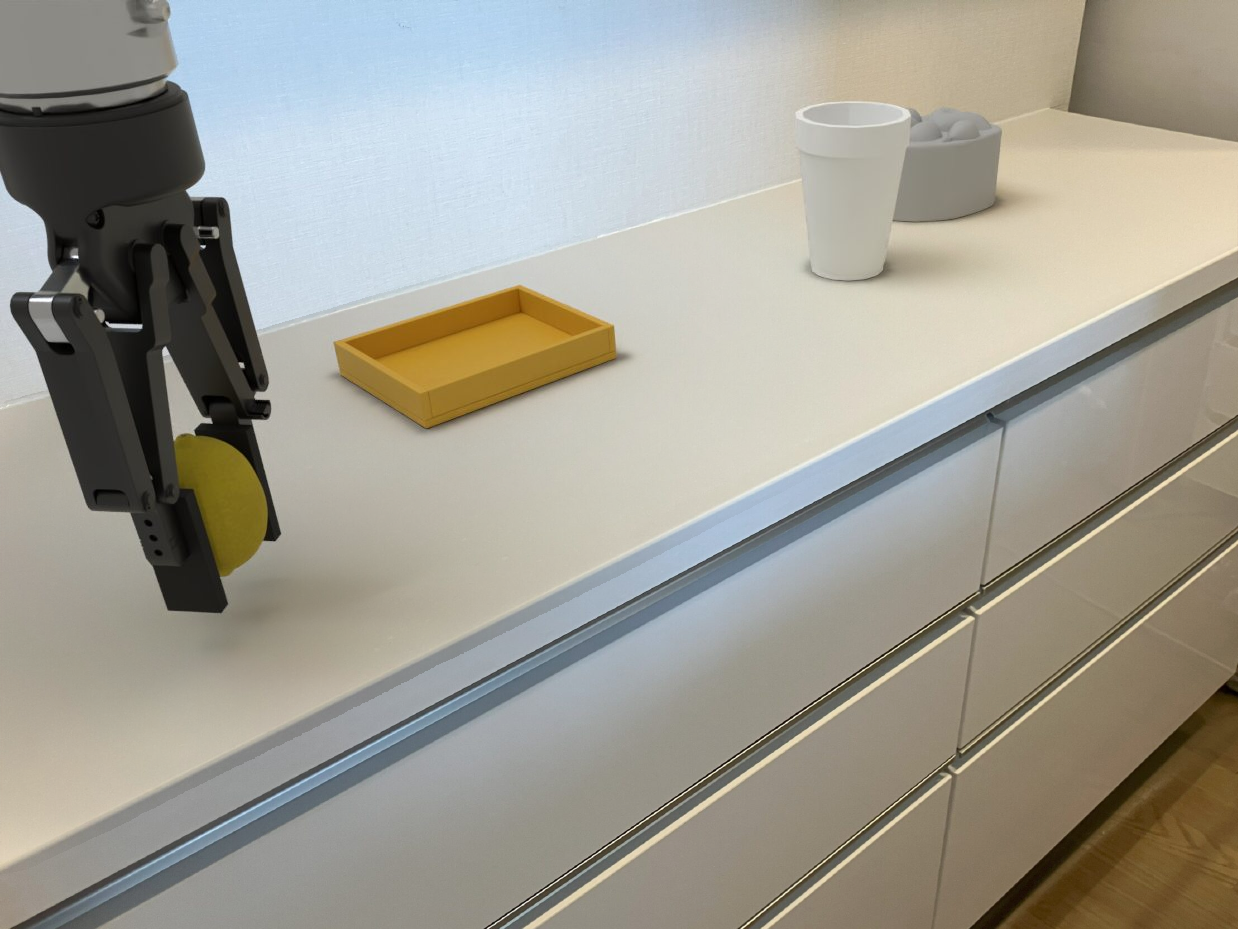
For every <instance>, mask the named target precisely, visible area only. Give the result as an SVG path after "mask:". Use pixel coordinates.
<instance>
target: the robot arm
mask: <svg viewBox="0 0 1238 929" xmlns="http://www.w3.org/2000/svg"><path fill="white" fill-rule="evenodd" d="M171 10H172V9H171V6H170V3H169V2H168V0H0V176H1V179H2V182H3V184H4V187H5V189H6V192H7V193H8V195H9V196H10V197H11V198H12V199H13V200H14V201H16V202H17V203H19V204H21V205H23V206H25V207H27V208H28V209H30V210H32V211H33V212H34V213H35V214H37V215H38V216H39V217H40V218H41V220H42V222H43V224H44V228H45V233H46V247H47V249H46V250H47V251H46V252H47V253H46V255H47V261H48V265H49V268H50V271H51V274H50V275H49V276H48V278H47V279H46V280H45V282H44V283H43V285H42V286H41V288H39V290H38V291H16V292H15V293H13V295H12V296H11V298H10V302H9V310H10V314H11V316H12V319H13V320H14V321H15V323H16V324H17V326H18V327H19V329H20V330H21V332H22V333H23V335H24V336H25V338H26V339H27V341H28V343H29V344H30V345H31V347H32V349H33V350H34V352H35V354H36V357H37V360H38V363H39V365H40V369H41V372H42V375H43V379H44V381H45V385H46V388H47V390H48V394H49V397H50V400H51V403H52V405H53V408H54V412H55V414H56V417H57V421H58V423H59V427H60V430H61V432H62V435H63V436H62V437H63V440H65V444H66V448H67V451H68V453H69V457H70V459H71V462H72V466H73V469H74V472H75V475H76V478H77V480H78V483H79V488H80V490H81V493H82V496H83V498H84V502H85V505H86V506H87V508H88V509H89V510H90V511H92V512H105V513H106V512H107V513H127V514H128V513H129V514H130V517H131V519H132V522H133V525H134V528H135V531H136V534H137V537H138V540H139V543H140V546H141V548H142V552H143V555H144V557H145V559H146V561H147V562H148V563H149V564H150V565H151V566H152V569H153V571H154V575H155V578H156V581H157V584H158V587H159V589H160V593H161V595H162V598H163V601H164V604H165V606H166V610H167V611H168V612H183V613H184V612H185V613H188V612H189V613H207V614H222V613H223V612H224V610H225V609H226V608H227V607H228V606H229V600H228V598H227V594H226V591H225V588H224V584H223V582H222V577H220V574H219V571H218V568H217V565H216V561H215V558H214V555H213V552H212V548H211V545H210V542H209V538H208V535H207V532H206V529H205V525H204V522H203V519H202V516H201V512H200V509H199V506H198V502H197V499H196V496H195V493H194V489H184V488H180V487H179V479H178V472H177V464H176V456H175V448H174V440H175V439H174V434H173V424H172V418H171V417H172V416H171V410H170V403H169V402H170V401H169V395H168V394H169V393H168V387H167V379H166V371H165V364H164V363H165V362H164V356H163V350H164V348H166V350H167V351H168V354H169V356H170V357H171V358H170V359H171V360H172V362H173V363H174V365H175V368H176V369H177V371H178V373H179V375H180V377H181V379H182V381H183V383H184V385H185V387H186V388H187V391H188V392H189V394H190V396H191V398H192V400H193V402H194V404H195V406H196V408H197V410H198V412H199V413H200V415H201V417H202V418H204V419H210V420H211V422H200V424H198V425H197V427H195V428H194V430H193V432H194V436H206V437H211V438H215V439H218V440H221V441H223V442H226V443H228V444H229V445H231V446H233V447H234V448H235V449H237V450H238V451H239V452H240V453H241V454H243V456H244V457H245V458H246V459H247V460H248V462H249V463H250V465H251V466H252V468H253V470H254V471H255V473H256V475H257V477H258V479H259V481H260V484H261V486H262V488H263V491H264V494H265V498H266V502H267V511H268V518H267V529H266V534H265V537H264V540H263V542H274V543H275V542H277V541H278V540H279V538H280V537H281V535H282V531H281V527H280V523H279V519H278V515H277V511H276V508H275V504H274V500H273V497H272V493H271V489H270V485H269V481H268V478H267V473H266V469H265V466H264V463H263V459H262V455H261V454H262V453H261V451H260V447H259V443H258V440H257V435H256V431H255V427H254V424H253V421H267V420H269V419H270V417H271V414H272V402H271V400H270V399H256V397H255V396H256V394H257V393H265V392H266V391H267V390H268V388H269V386H270V378H269V372H268V370H267V366H266V362H265V358H264V355H263V351H262V348H261V344H260V340H259V336H258V332H257V329H256V326H255V322H254V318H253V314H252V311H251V306H250V303H249V300H248V295H247V292H246V288H245V285H244V281H243V277H242V274H241V271H240V267H239V263H238V260H237V256H236V252H235V248H234V242H233V232H232V229H233V228H232V221H231V211H230V209H231V208H230V205H229V203H228V200H227V199H226V197H223V196H190V194H189V193H188V191H187V190H189V189H190V188H192V187H194V186H195V185H196V184H197V183H199V182H200V180H201V179H202V178H203V176H204V175H205V171H206V159H205V157H204V153H203V148H202V145H201V140H200V137H199V133H198V128H197V124H196V121H195V117H194V112H193V109H192V104H191V101H190V96H189V94H188V92H187V91H186V90H184V89H182V88H181V86H180V85H179V84H178V83H176V82H175V81H171V80H168V79H167V78H169V77H170V76H171V75H172V74H174V72H175V71H176V69H177V68H178V66H179V64H180V63H179V59H178V55H177V51H176V47H175V44H174V40H173V36H172V33H171V28H170V24H169V19H170V17H171V15H172V11H171ZM203 246H204V247H203ZM108 324H109V325H139V326H141V325H142V326H141V328H138V327H137V328H134V327H133V328H131V327H111V326H109V325H108ZM240 364H243V367H241V365H240ZM150 475H151V476H150Z"/></svg>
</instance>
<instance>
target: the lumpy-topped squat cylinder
mask: <svg viewBox="0 0 1238 929" xmlns="http://www.w3.org/2000/svg"><path fill="white" fill-rule="evenodd" d="M904 108H905V109H907V110H909V112H910V114H911V126H910V142H909V146H908V147H906V152H905V158H904V163H903V168H902V174H901V179H900V184H899V189H898V195H897V200H896V205H895V210H894V216H893V221H898V222H935V221H947V220H953V219H958V218H962V217H966V216H969V215H972V214H973V215H974V214H975V213H978V212H981V211H983V210H985V209H988V208H991V207H992V206H993V205H994V204H995V202H996V192H997V184H998V173H999V164H1000V163H999V162H1000V154H1001V153H1000V152H1001V144H1002V135H1003V130H1002V127H1001V126H999V125H998V124H994V123H990V122H989V120H987V119H986V118H985V116H983V115H981V114H980V113H976V112H972V111H967V110H963V111H962V110H959V109H957V108H952V107H944V106H943V107H938V108H936V109H934V110H933V111H932V112H931V113H930V114H928V115H927V114H926V115H920V113H919V112H918V111H917V109H914V108H912V107H904Z"/></svg>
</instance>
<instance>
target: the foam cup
mask: <svg viewBox="0 0 1238 929" xmlns="http://www.w3.org/2000/svg"><path fill="white" fill-rule="evenodd" d="M905 108H906V107H901V106H899V105H896V104H891V103H883V102H877V101H861V100H860V101H858V100H855V101H854V100H846V101H845V100H843V101H831V102H822V103H817V104H811V105H807V106H804V107H802V108H800V109H798V110H797V111H795V115H794V116H795V119H794V120H795V122H794V124H795V125H794V126H795V128H794V131H795V132H794V143H795V148H796V149H798V159H799V167H800V177H801V178H800V179H801V187H802V188H801V189H802V196H803V204H804V214H805V225H806V232H807V243H808V251H809V260H810V267H811V268H810V269H811V272H812V273H813V274H815V275H817V276H818V277H821V278H825V279H829V280H834V281H846V282H847V281H849V282H850V281H861V280H867V279H870V278H873V277H876V276H878V275H879V274H881V273H882V272H883V271H884V264H885V263H886V258H887V253H888V252H887V251H888V246H889V242H890V237H891V231H892V225H893V221H894V220H893V216H894V210H895V205H896V200H897V195H898V189H899V184H900V179H901V174H902V168H903V163H904V158H905V152H906V147H908V146H909V142H910V126H911V114H910V112H909V110H907V109H905Z"/></svg>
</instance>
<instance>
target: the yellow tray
mask: <svg viewBox="0 0 1238 929" xmlns="http://www.w3.org/2000/svg"><path fill="white" fill-rule="evenodd" d="M616 346H617V344H616V332H615V325H614V324H611V323H609V322H607V321H605V320H602V319H600V318H597V317H595V316H594V315H591V314H589V313H586V312H584V311H581V310H579V309H577V308H575V307H572V306H570V305H568V304H566V303H563V302H561V301H558V300H556V299H554V298H552V297H549V296H547V295H544V294H543V293H540V292H537V291H535V290H533V289H531V288H528V287H526V286H524V285H522V284H518V285H514V286H511V287H508V288H505V289H501V290H497V291H495V292H492V293H488V294H485V295H482V296H481V295H480V296H478V297H476V298H475V297H474V298H472V299H469V300H465V301H462V302H458V303H455V304H451V305H450V306H445V307H443V308H440V309H436V310H432V311H430V312H426V313H424V314H419V315H417V316H413V317H411V318H406V319H404V320H401V321H397V322H394V323H390V324H388V325H387V324H386V325H384V326H381V327H377V328H375V329H371V330H368V331H364V332H361V333H359V334H355V335H352V336H348V337H344V338H341V339H339V340H336V341H333V347H334V351H335V356H336V360H337V367H338V369H339V374H340V376H341V377H343V378H345V379H346V380H348V381H350V382H351V383H353V384H354V385H356V386H358V387H359V388H361V389H362V390H364V391H366V392H367V393H369V394H370V395H372V396H374V397H375V398H377V399H378V400H380V401H382V402H383V403H385V404H386V405H387V406H390V407H392V408H393V409H394V410H396V411H398V412H399V413H401V414H402V415H404V416H405V417H407V418H408V419H410V420H412V421H413V422H415V423H416V424H418V425H420V426H421V427H423V428H424V429H429V428H432V427H434V426H438V425H441V424H442V423H443V424H444V423H445V422H448V421H450V420H453V419H457V418H459V417H461V416H464V415H467V414H470V413H472V412H475V411H478V410H481V409H483V408H485V407H488V406H491V405H493V404H497V403H500V402H501V401H504V400H507V399H509V398H512V397H515V396H518V395H520V394H523V393H526V392H528V391H532V390H535V389H537V388H539V387H542V386H545V385H547V384H550V383H553V382H556V381H558V380H561V379H564V378H567V377H569V376H572V375H574V374H576V373H579V372H580V373H581V372H582V371H585V370H588V369H590V368H593V367H596V366H599V365H601V364H603V363H606V362H609V361H612V360H615V359H617V347H616Z"/></svg>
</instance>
